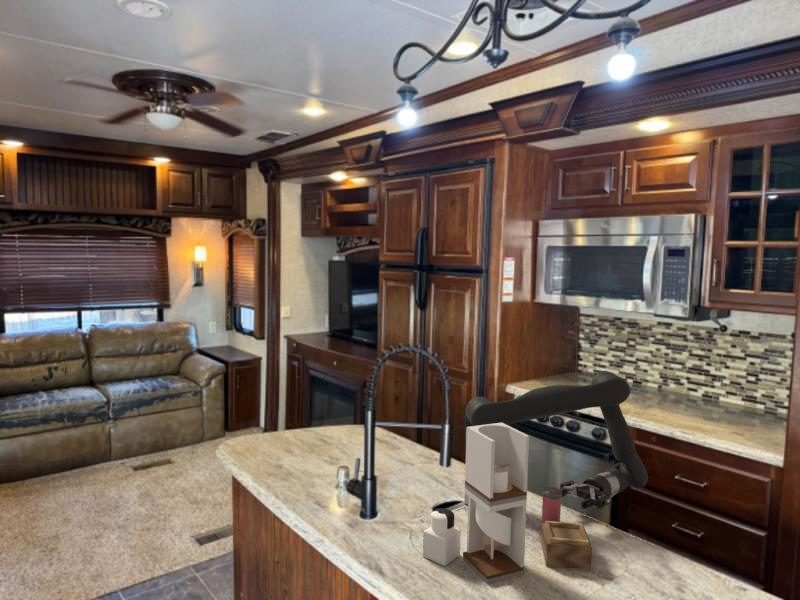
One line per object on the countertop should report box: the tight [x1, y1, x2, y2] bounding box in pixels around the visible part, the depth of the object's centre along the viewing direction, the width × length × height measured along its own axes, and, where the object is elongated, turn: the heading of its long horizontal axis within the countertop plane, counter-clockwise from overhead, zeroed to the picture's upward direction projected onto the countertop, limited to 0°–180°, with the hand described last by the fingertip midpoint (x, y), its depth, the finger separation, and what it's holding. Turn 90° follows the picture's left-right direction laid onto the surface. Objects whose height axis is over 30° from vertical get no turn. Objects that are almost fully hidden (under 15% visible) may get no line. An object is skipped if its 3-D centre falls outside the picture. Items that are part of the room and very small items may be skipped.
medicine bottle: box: [422, 507, 462, 567], centre depth 144 cm, size 7×7×12 cm
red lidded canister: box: [541, 486, 562, 532], centre depth 158 cm, size 5×5×12 cm
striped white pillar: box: [462, 423, 530, 585], centre depth 138 cm, size 11×11×35 cm
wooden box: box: [540, 521, 593, 571], centre depth 145 cm, size 11×11×7 cm
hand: (569, 500), depth 163 cm, fingers open, 8 cm apart
